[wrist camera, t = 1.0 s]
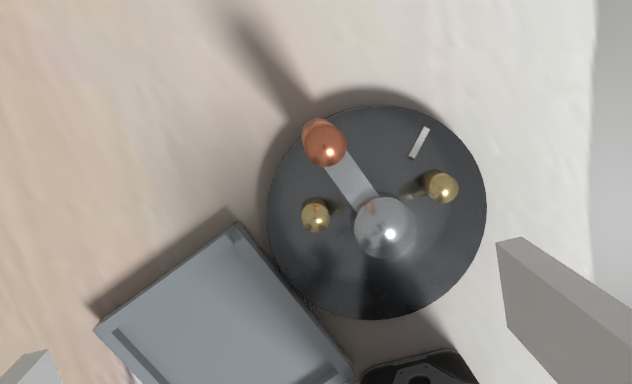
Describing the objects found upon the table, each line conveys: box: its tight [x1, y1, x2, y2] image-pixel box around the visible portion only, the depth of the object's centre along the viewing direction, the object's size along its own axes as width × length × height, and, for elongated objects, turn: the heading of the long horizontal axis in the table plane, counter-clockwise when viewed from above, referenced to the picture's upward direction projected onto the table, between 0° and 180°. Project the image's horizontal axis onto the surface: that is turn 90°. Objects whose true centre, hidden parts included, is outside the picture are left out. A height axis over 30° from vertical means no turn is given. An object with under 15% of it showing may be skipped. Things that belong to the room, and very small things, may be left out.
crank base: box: [267, 105, 487, 320], centre depth 34 cm, size 17×17×4 cm
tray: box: [92, 221, 356, 384], centre depth 37 cm, size 14×16×2 cm
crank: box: [301, 118, 416, 259], centre depth 30 cm, size 11×4×7 cm, turn 36°
